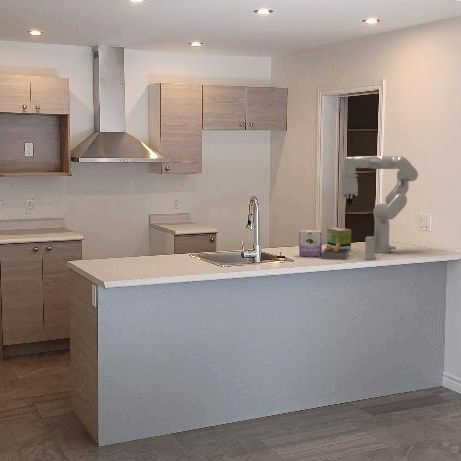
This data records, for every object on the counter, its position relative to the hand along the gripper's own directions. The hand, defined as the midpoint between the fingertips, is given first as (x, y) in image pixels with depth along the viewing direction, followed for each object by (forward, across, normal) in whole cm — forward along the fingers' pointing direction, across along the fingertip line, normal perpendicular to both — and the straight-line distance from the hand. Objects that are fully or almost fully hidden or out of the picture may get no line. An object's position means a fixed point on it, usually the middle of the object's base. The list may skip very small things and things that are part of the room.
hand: (349, 204), depth 470 cm
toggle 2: (+27, +6, +10) cm, 30 cm away
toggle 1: (+27, +12, +16) cm, 34 cm away
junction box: (+32, -14, +16) cm, 38 cm away
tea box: (+32, +8, -14) cm, 36 cm away
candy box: (+32, +23, +17) cm, 43 cm away
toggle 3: (+27, +6, +21) cm, 35 cm away
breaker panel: (+32, +8, +16) cm, 36 cm away
